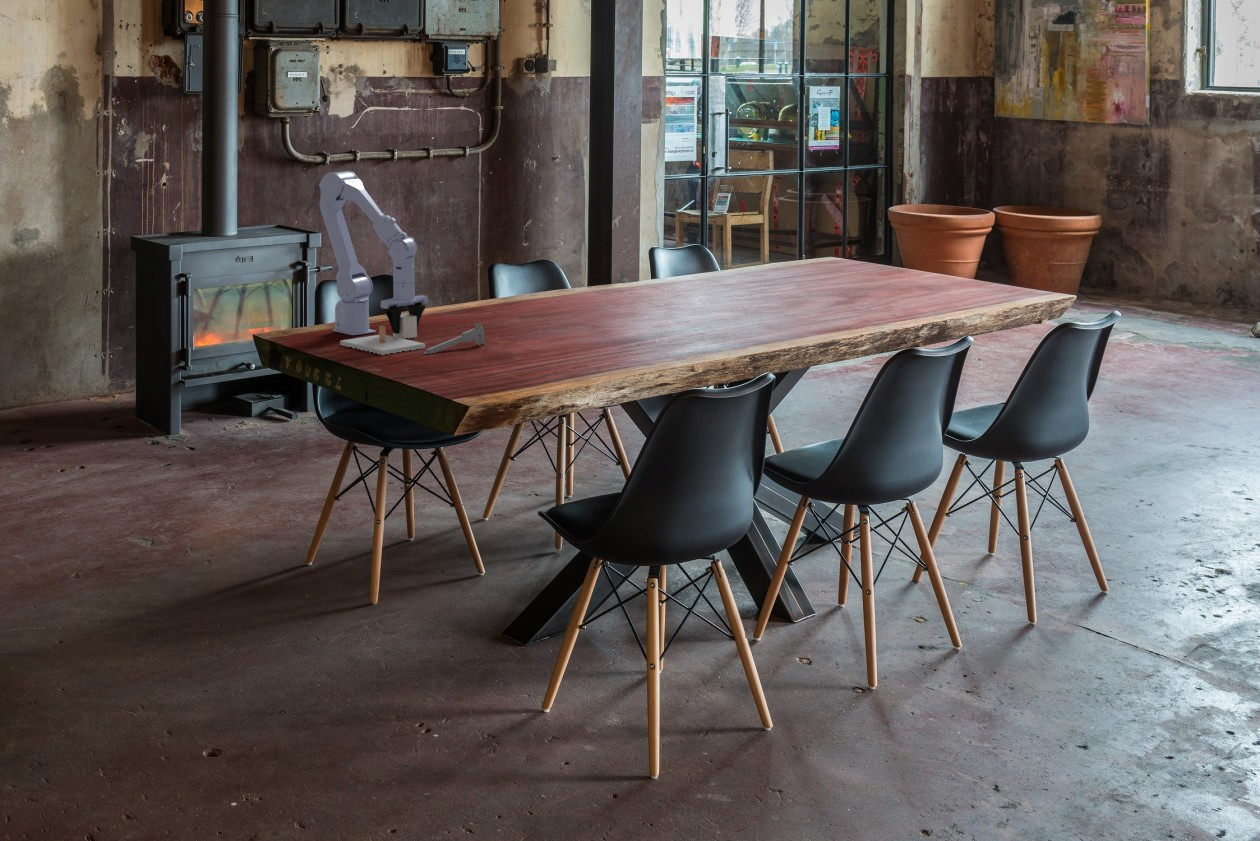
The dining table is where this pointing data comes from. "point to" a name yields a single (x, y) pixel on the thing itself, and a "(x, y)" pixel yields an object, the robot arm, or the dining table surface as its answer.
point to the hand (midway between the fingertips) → (404, 331)
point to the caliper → (461, 339)
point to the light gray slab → (382, 343)
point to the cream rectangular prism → (407, 327)
